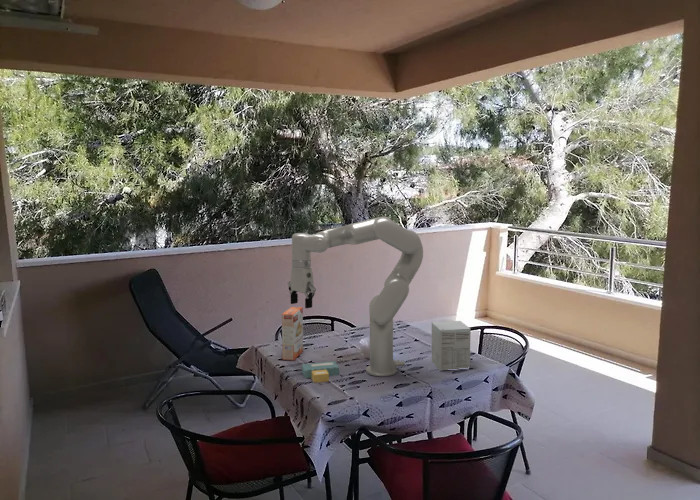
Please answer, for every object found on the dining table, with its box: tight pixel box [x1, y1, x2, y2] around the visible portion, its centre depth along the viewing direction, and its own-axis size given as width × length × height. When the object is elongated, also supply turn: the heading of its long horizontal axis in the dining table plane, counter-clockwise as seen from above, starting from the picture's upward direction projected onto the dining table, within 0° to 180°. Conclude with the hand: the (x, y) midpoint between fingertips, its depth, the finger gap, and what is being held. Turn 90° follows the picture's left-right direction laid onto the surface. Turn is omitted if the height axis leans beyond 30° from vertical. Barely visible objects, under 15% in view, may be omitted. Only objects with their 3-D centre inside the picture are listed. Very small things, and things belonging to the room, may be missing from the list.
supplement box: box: [431, 320, 472, 371], centre depth 226 cm, size 13×13×18 cm
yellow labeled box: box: [311, 370, 330, 384], centre depth 213 cm, size 6×5×3 cm
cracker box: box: [281, 306, 304, 361], centre depth 241 cm, size 14×6×21 cm, turn 168°
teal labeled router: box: [301, 360, 340, 379], centre depth 220 cm, size 14×8×3 cm, turn 104°
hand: (301, 305), depth 219 cm, fingers open, 9 cm apart
